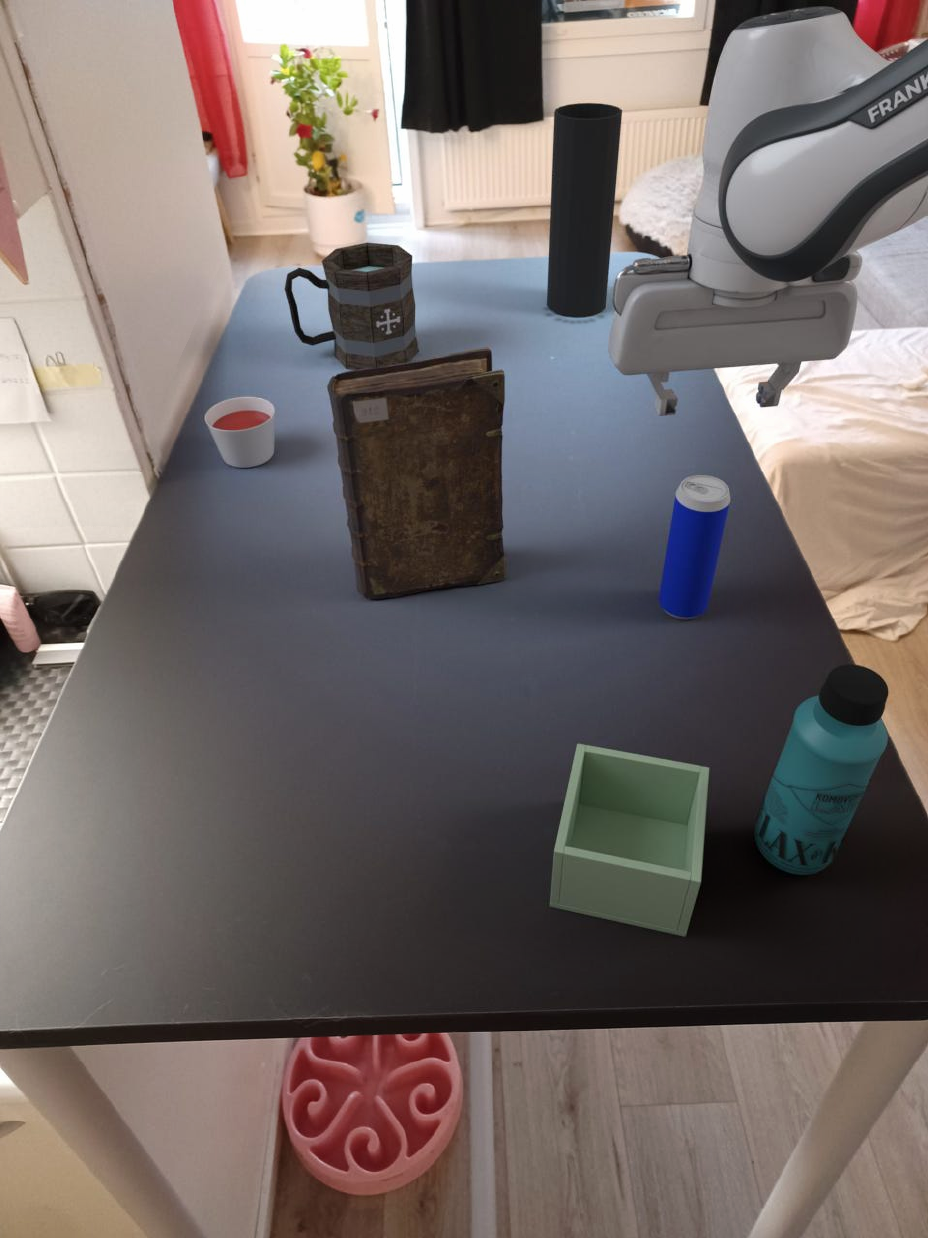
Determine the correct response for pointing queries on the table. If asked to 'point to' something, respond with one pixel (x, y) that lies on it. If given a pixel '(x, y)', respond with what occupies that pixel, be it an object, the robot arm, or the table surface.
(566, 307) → the vase
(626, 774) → the bin
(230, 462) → the white cup
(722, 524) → the beverage can
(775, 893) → the table surface
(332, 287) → the mug
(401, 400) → the book
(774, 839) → the beverage bottle
